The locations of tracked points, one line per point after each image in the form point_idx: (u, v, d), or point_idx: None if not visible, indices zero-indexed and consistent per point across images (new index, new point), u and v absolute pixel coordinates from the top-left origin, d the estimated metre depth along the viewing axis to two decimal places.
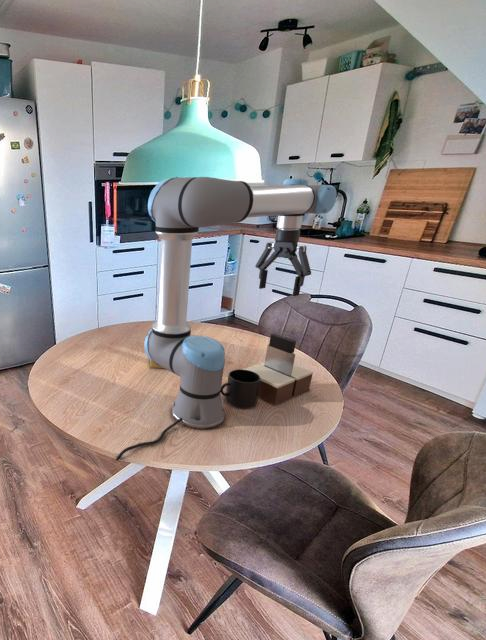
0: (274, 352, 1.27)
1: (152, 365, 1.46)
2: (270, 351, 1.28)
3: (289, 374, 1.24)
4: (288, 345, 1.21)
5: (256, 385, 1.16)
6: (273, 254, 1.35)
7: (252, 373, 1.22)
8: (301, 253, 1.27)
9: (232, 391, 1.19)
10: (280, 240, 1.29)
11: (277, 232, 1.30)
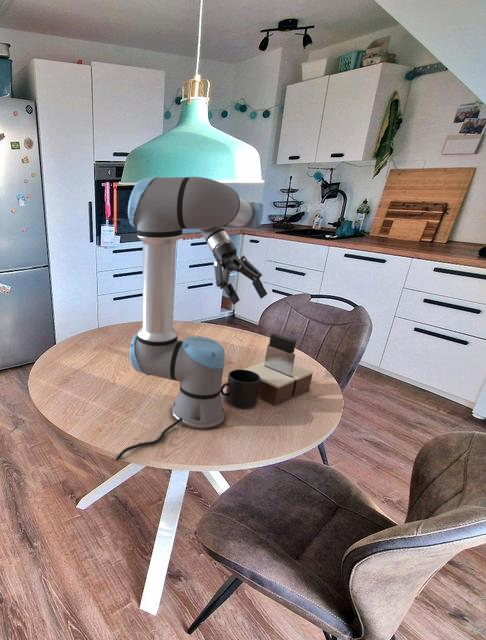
0: (274, 352, 1.27)
1: None
2: (270, 351, 1.28)
3: (289, 374, 1.24)
4: (288, 345, 1.21)
5: (256, 385, 1.16)
6: (230, 265, 1.31)
7: (252, 373, 1.22)
8: (247, 260, 1.36)
9: (232, 391, 1.19)
10: (233, 249, 1.32)
11: (225, 244, 1.32)
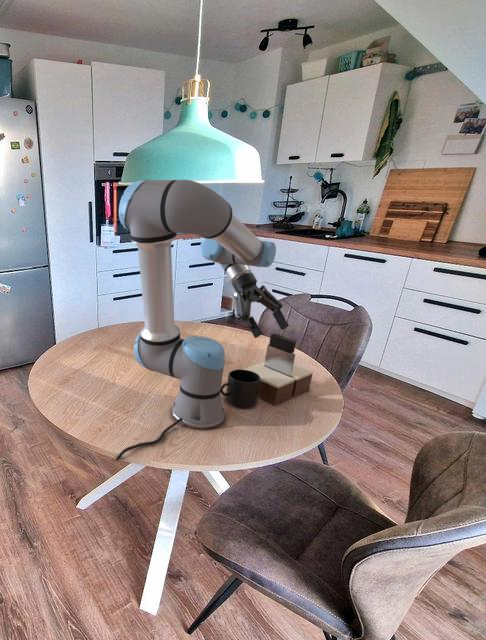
0: (274, 352, 1.27)
1: None
2: (270, 351, 1.28)
3: (289, 374, 1.24)
4: (288, 345, 1.21)
5: (256, 385, 1.16)
6: (250, 297, 1.26)
7: (252, 373, 1.22)
8: (267, 290, 1.32)
9: (232, 391, 1.19)
10: (253, 279, 1.27)
11: (245, 275, 1.27)
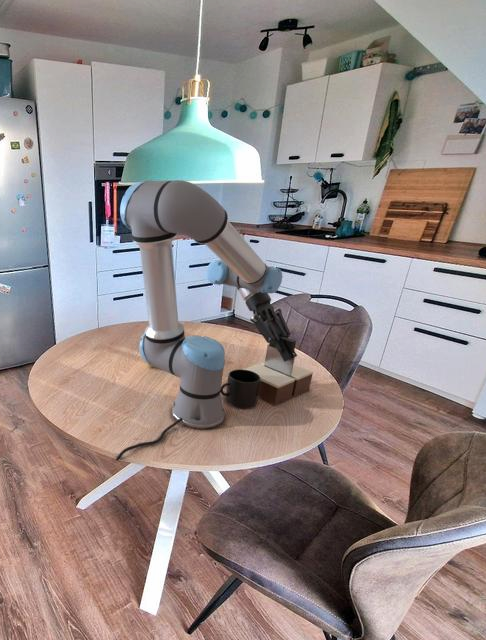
0: (274, 352, 1.27)
1: None
2: (270, 352, 1.28)
3: (289, 374, 1.24)
4: (288, 345, 1.21)
5: (256, 385, 1.16)
6: (269, 317, 1.24)
7: (252, 373, 1.22)
8: (281, 314, 1.28)
9: (232, 391, 1.19)
10: (268, 298, 1.24)
11: (260, 293, 1.24)
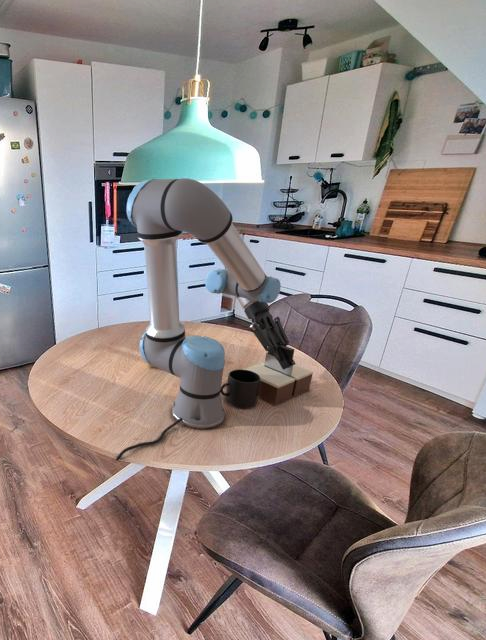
0: (273, 360, 1.28)
1: None
2: (268, 359, 1.29)
3: None
4: (287, 354, 1.22)
5: (256, 385, 1.16)
6: (267, 326, 1.25)
7: (252, 373, 1.22)
8: (279, 323, 1.29)
9: (232, 391, 1.19)
10: (266, 307, 1.25)
11: (258, 302, 1.26)
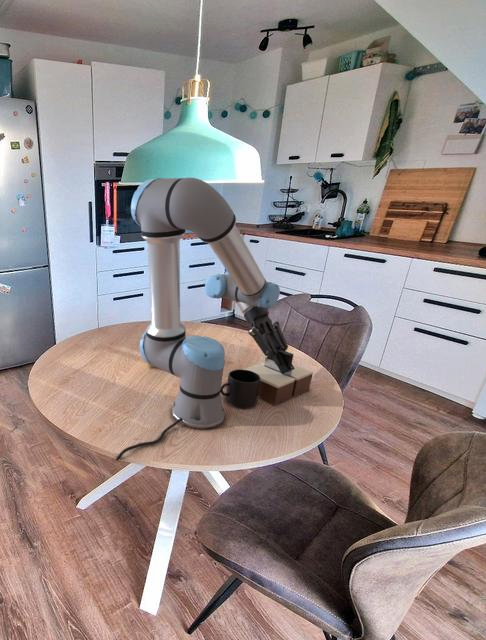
0: (272, 365, 1.28)
1: None
2: (267, 364, 1.30)
3: None
4: (286, 358, 1.23)
5: (256, 385, 1.16)
6: (267, 331, 1.26)
7: (252, 373, 1.22)
8: (279, 327, 1.29)
9: (232, 391, 1.19)
10: (266, 312, 1.26)
11: (258, 307, 1.26)
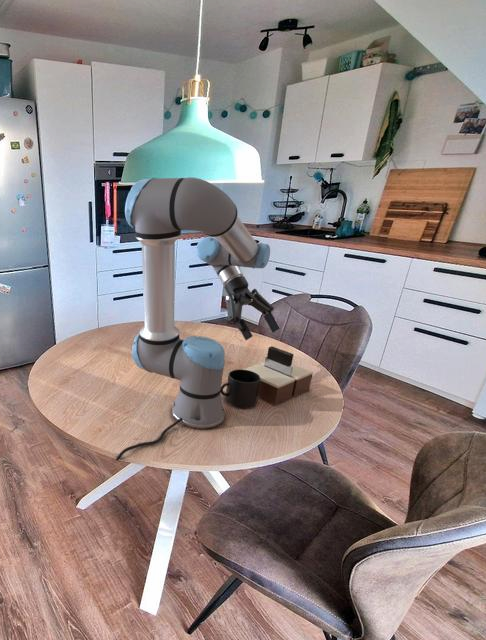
0: (272, 365, 1.28)
1: None
2: (267, 364, 1.30)
3: None
4: (286, 358, 1.23)
5: (256, 385, 1.16)
6: (242, 300, 1.29)
7: (252, 373, 1.22)
8: (258, 293, 1.35)
9: (232, 391, 1.19)
10: (245, 283, 1.31)
11: (237, 278, 1.31)
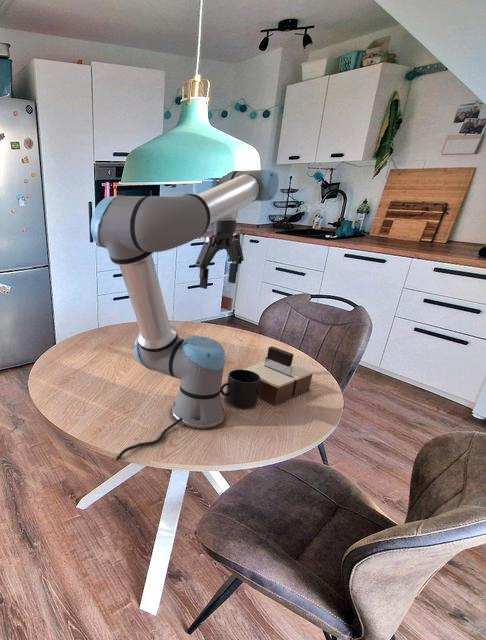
0: (272, 365, 1.28)
1: None
2: (267, 364, 1.30)
3: None
4: (286, 358, 1.23)
5: (256, 385, 1.16)
6: (219, 247, 1.24)
7: (252, 373, 1.22)
8: (239, 240, 1.28)
9: (232, 391, 1.19)
10: (232, 231, 1.22)
11: (228, 223, 1.20)
